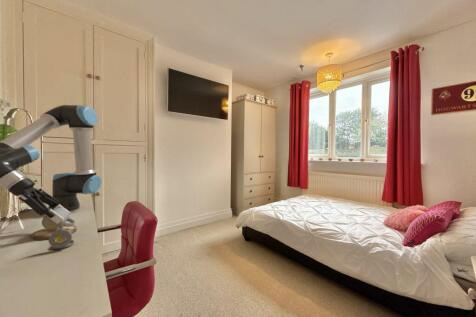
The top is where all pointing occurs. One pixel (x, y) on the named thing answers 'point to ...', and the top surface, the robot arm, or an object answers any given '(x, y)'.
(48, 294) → the top surface
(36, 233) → the brown round plate
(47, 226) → the ceramic mug
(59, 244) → the pocket watch
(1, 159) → the robot arm
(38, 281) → the top surface
